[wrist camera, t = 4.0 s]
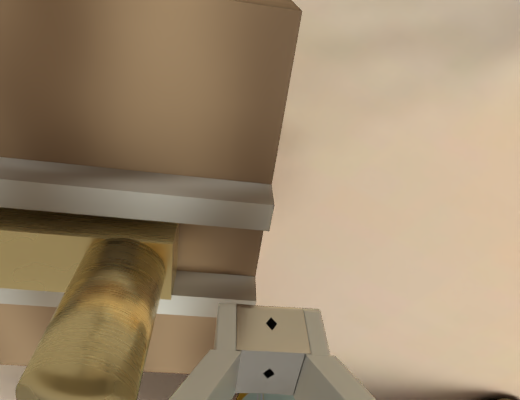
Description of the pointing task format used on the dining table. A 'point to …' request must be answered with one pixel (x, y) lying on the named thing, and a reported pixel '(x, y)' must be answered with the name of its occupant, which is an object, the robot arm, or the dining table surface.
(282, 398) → the bottle
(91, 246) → the bolt
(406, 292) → the dining table surface
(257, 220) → the door latch block
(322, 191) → the dining table surface
